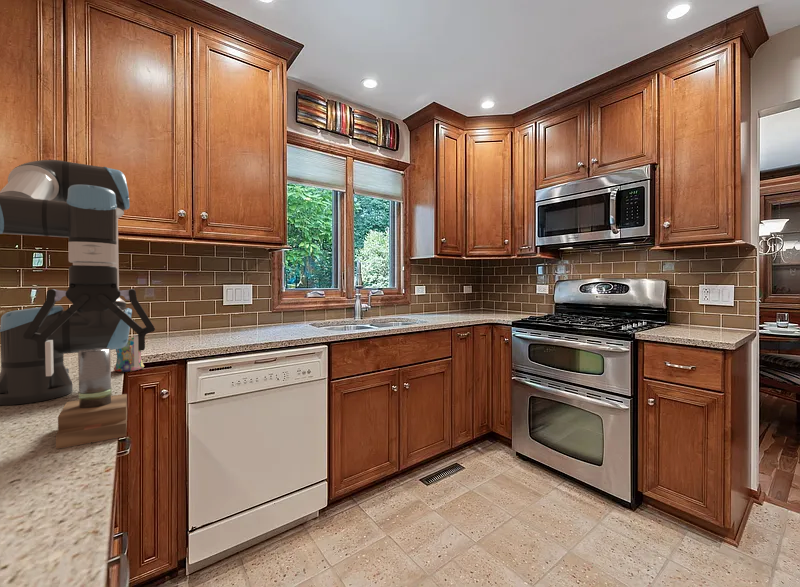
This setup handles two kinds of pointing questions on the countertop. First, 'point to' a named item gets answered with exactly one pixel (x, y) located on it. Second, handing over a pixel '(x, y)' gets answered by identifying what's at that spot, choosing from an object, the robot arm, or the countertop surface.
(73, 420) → the step block
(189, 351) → the countertop surface
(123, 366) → the colorful snack bag
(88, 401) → the column
